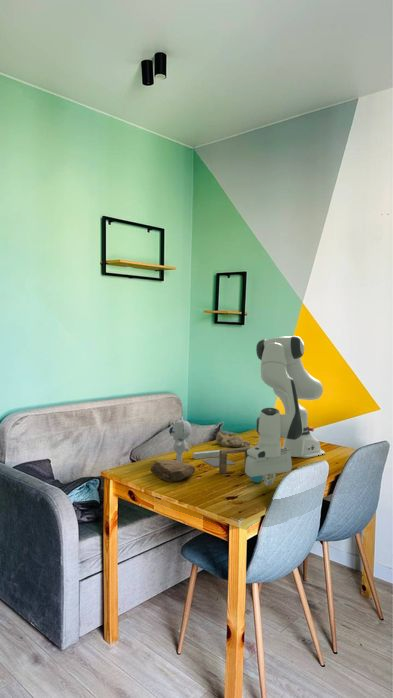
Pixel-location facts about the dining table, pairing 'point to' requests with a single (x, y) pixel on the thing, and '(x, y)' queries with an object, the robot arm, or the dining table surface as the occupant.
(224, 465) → the bridge
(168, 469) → the rock
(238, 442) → the figurine
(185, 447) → the toy
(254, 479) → the ball
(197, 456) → the white long bar
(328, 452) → the dining table surface
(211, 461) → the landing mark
